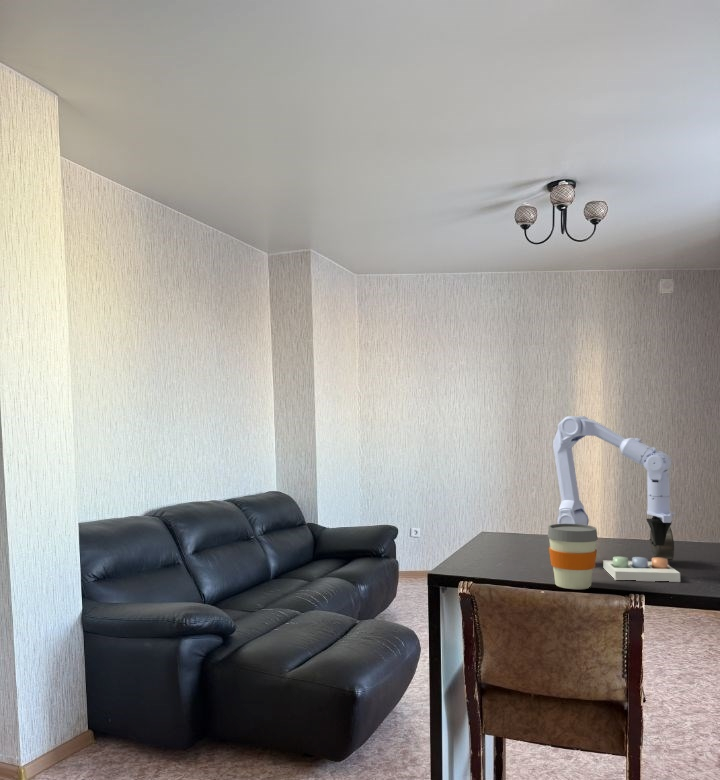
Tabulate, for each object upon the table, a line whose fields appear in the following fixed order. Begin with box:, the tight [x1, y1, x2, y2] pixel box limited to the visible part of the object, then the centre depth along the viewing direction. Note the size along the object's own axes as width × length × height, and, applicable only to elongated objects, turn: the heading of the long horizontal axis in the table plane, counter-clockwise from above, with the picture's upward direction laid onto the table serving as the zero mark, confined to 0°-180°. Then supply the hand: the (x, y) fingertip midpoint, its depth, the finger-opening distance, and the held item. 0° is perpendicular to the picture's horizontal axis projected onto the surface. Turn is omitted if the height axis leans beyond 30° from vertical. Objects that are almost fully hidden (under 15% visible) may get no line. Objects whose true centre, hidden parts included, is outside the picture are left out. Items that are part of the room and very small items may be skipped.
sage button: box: [612, 555, 629, 568], centre depth 190 cm, size 4×4×3 cm
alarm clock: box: [648, 526, 675, 567], centre depth 204 cm, size 11×5×16 cm, turn 168°
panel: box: [602, 559, 681, 583], centre depth 189 cm, size 17×14×2 cm
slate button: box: [631, 556, 649, 568], centre depth 189 cm, size 4×4×3 cm
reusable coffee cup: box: [547, 523, 598, 590], centre depth 179 cm, size 13×12×15 cm
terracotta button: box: [651, 556, 668, 569], centre depth 189 cm, size 4×4×3 cm
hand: (659, 545), depth 189 cm, fingers closed
